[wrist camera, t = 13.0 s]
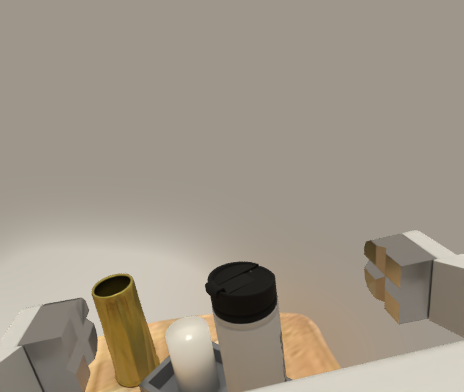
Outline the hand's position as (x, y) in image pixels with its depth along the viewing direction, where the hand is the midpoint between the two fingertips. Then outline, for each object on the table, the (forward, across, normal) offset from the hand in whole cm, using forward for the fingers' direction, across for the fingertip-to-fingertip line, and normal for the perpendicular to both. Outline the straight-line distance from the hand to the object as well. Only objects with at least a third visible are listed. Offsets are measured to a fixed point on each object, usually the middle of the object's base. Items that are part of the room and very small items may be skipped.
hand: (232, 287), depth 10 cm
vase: (+31, +14, +32) cm, 47 cm away
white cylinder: (+25, +5, +31) cm, 40 cm away
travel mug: (+18, -2, +32) cm, 37 cm away
